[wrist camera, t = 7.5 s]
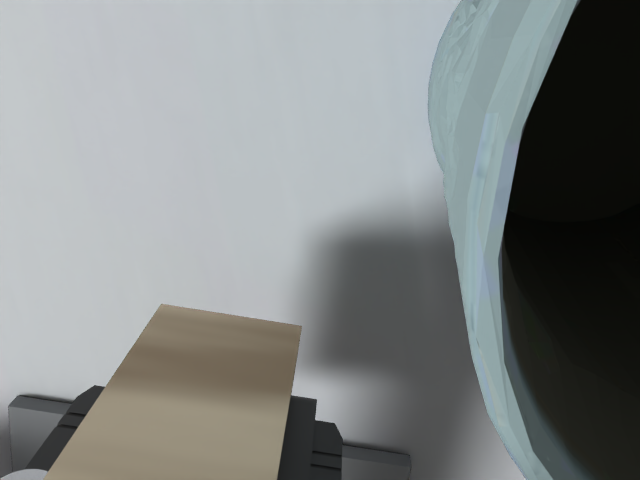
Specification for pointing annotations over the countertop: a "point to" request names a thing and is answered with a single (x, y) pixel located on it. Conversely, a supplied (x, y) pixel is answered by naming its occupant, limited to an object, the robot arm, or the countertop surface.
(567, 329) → the green embossed planter
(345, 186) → the countertop surface
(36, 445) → the mat
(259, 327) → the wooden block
